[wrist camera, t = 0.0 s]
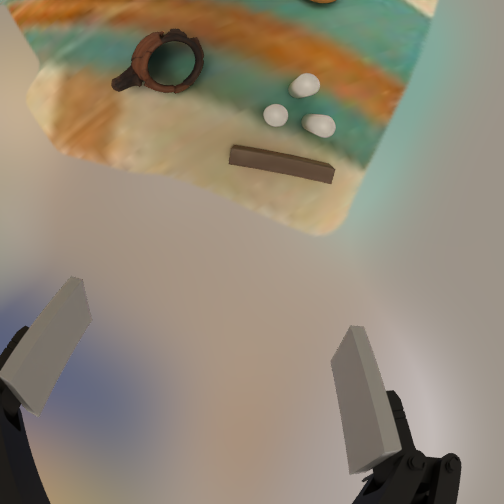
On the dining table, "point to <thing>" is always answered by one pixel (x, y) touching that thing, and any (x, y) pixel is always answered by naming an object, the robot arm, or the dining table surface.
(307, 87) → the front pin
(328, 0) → the ball
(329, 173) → the back wall
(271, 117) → the pin
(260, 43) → the dining table surface
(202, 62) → the pottery mug
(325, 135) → the pin
